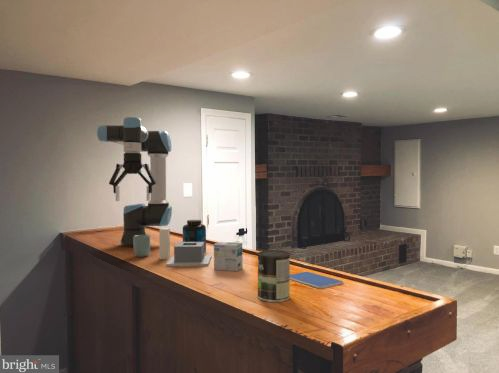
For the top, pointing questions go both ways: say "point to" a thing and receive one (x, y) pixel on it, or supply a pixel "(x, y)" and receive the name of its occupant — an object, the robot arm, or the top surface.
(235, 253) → the light bulb box
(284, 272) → the coffee can
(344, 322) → the top surface
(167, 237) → the peg
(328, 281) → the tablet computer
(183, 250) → the socket block
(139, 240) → the cup
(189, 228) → the container
